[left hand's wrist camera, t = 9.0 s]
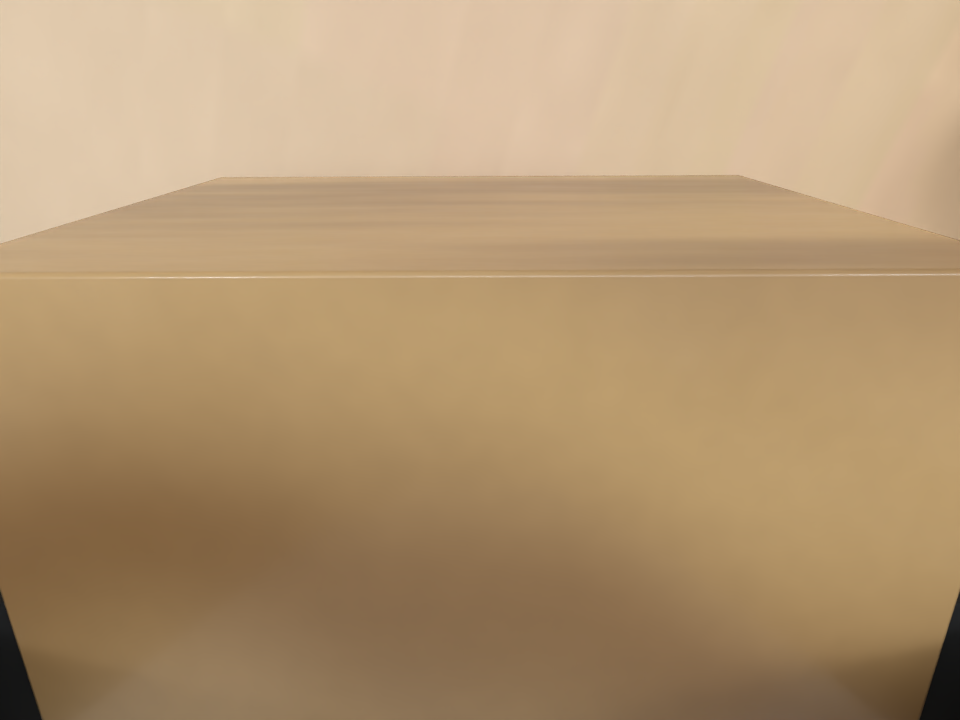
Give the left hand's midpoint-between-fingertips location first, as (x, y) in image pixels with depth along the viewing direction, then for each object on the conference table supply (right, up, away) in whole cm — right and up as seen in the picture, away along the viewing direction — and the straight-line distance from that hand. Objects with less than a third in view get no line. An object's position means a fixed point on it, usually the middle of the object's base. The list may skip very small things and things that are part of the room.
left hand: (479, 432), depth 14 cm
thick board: (0, -27, +11) cm, 30 cm away
